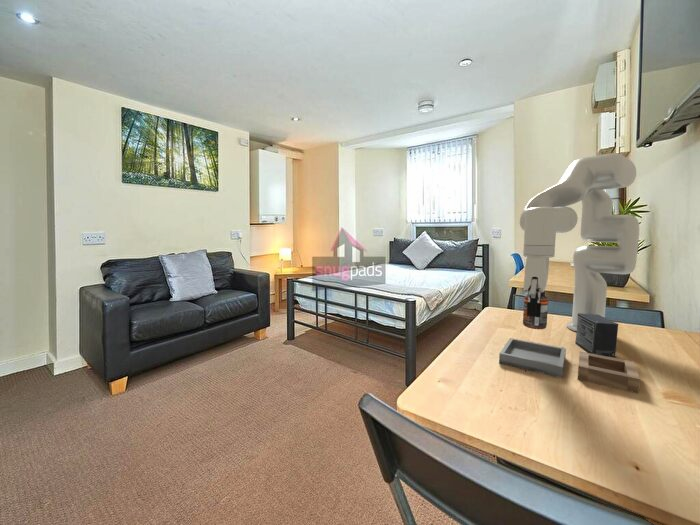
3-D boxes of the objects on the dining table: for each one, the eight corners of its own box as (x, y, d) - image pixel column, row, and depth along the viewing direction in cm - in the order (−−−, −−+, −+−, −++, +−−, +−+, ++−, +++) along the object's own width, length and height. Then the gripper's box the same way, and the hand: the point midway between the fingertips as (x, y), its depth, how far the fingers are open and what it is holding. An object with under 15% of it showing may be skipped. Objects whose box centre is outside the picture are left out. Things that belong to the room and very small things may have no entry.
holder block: (578, 363, 88) (579, 351, 87) (633, 374, 81) (634, 361, 80) (577, 379, 79) (578, 366, 78) (638, 393, 72) (639, 379, 71)
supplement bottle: (518, 323, 91) (520, 286, 90) (536, 323, 92) (539, 286, 90) (531, 330, 85) (533, 290, 84) (551, 329, 86) (554, 290, 84)
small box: (617, 357, 91) (620, 323, 89) (592, 356, 92) (595, 322, 91) (596, 344, 101) (599, 313, 100) (574, 343, 102) (576, 312, 101)
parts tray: (509, 346, 100) (510, 337, 100) (565, 358, 91) (565, 348, 91) (499, 363, 88) (499, 353, 88) (561, 378, 79) (562, 367, 79)
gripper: (528, 249, 95) (525, 305, 97) (518, 253, 81) (514, 318, 83) (557, 249, 90) (553, 309, 92) (551, 254, 77) (547, 323, 79)
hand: (535, 312), depth 88 cm, fingers closed on supplement bottle, 6 cm apart
